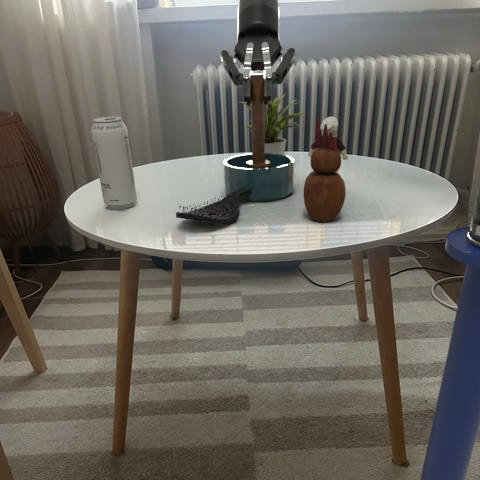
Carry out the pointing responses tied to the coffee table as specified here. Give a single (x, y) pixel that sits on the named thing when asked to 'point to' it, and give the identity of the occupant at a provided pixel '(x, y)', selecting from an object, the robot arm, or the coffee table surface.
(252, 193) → the bowl
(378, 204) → the coffee table surface
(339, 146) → the grandmother figurine
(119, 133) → the energy drink can
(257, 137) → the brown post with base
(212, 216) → the hairbrush
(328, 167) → the wooden figurine
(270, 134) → the house plant
